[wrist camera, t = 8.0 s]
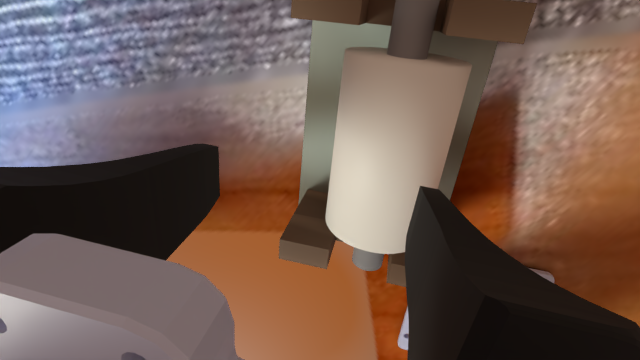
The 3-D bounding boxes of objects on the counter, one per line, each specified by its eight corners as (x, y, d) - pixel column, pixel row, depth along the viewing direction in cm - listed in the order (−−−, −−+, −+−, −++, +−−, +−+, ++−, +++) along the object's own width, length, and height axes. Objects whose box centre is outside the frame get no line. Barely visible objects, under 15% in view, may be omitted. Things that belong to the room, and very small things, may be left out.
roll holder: (431, 245, 23) (440, 323, 17) (300, 219, 24) (268, 282, 19) (516, -37, 16) (578, -64, 10) (323, -53, 17) (281, -85, 11)
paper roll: (384, 228, 22) (433, 284, 18) (308, 239, 20) (343, 305, 16) (434, -9, 16) (526, -7, 12) (332, -22, 14) (398, -25, 10)
